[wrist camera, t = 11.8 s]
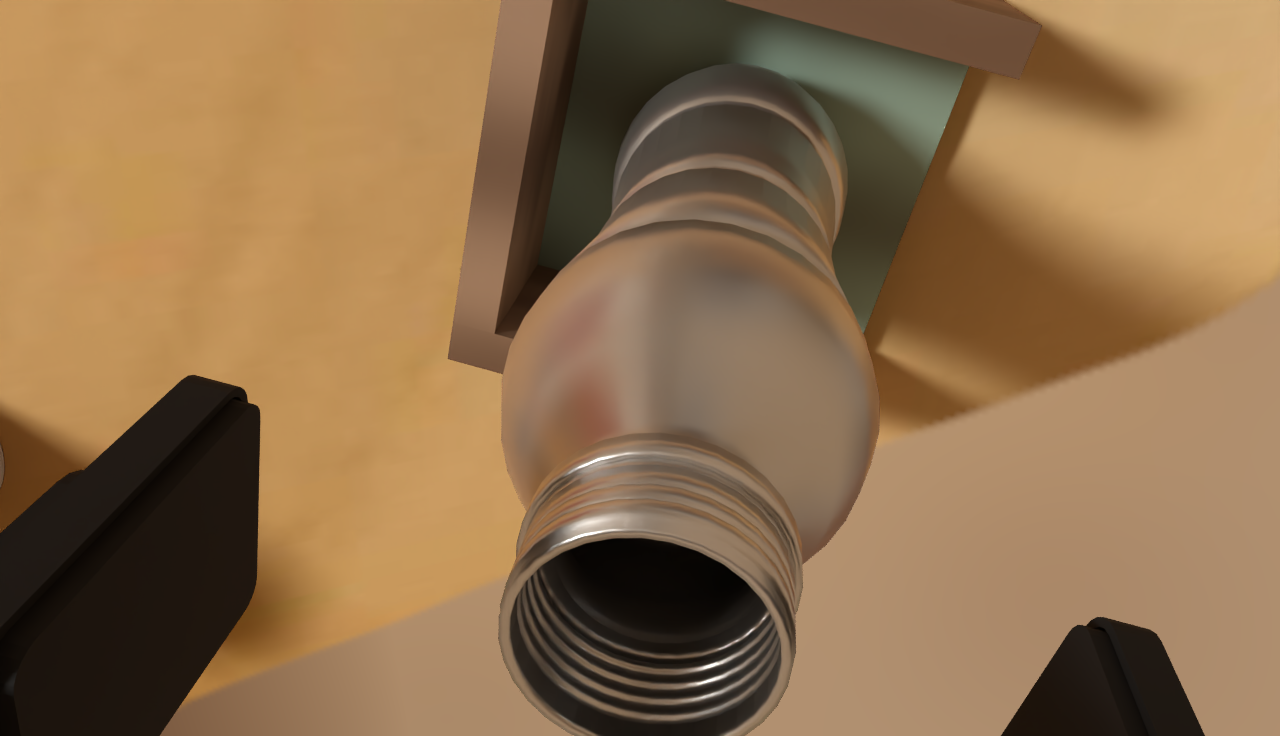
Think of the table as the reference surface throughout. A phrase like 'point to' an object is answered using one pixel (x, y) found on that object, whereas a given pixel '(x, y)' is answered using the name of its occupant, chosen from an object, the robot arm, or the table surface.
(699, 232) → the plastic bottle
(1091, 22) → the table surface
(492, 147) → the u rest
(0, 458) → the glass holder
